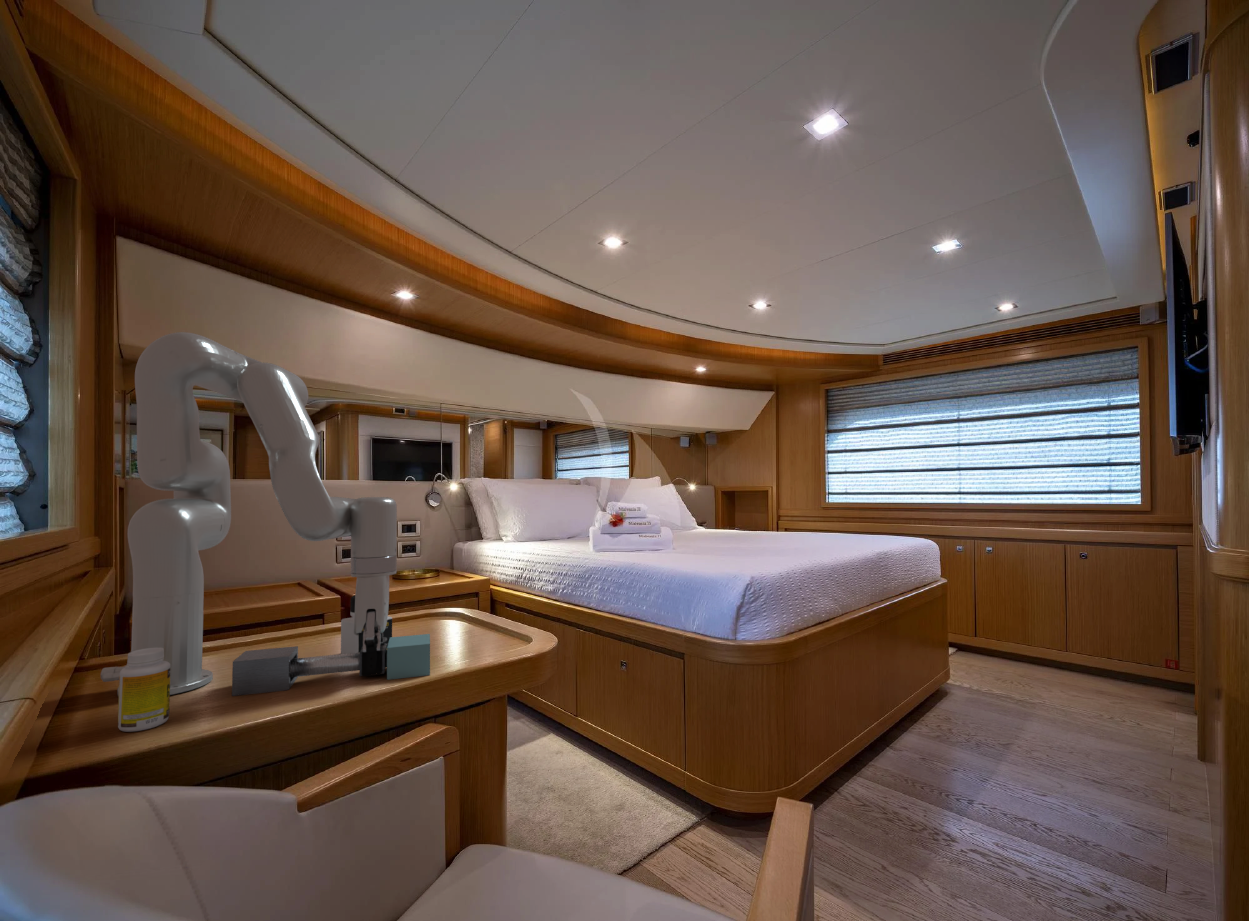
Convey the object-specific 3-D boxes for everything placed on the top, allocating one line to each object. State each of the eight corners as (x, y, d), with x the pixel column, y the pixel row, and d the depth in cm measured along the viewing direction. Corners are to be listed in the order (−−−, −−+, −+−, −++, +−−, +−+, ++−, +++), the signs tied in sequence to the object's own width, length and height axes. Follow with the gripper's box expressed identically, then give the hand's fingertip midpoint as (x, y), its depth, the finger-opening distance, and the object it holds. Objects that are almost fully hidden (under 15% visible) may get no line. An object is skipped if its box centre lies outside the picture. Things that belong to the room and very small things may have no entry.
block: (387, 679, 100) (387, 647, 100) (389, 667, 107) (389, 637, 108) (430, 675, 102) (430, 643, 102) (429, 663, 110) (429, 633, 110)
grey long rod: (266, 686, 96) (266, 661, 96) (272, 678, 100) (273, 654, 100) (408, 671, 103) (409, 648, 103) (409, 664, 107) (409, 642, 107)
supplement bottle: (175, 723, 82) (177, 649, 83) (124, 736, 78) (127, 658, 78) (161, 715, 85) (163, 644, 86) (112, 727, 81) (114, 652, 81)
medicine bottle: (358, 660, 112) (359, 597, 113) (340, 655, 116) (340, 594, 117) (392, 652, 118) (393, 592, 119) (373, 647, 122) (374, 589, 123)
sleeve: (231, 696, 93) (232, 661, 93) (244, 683, 100) (245, 650, 100) (288, 690, 96) (289, 656, 96) (297, 677, 102) (298, 646, 102)
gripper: (356, 562, 111) (355, 660, 110) (344, 573, 95) (343, 688, 94) (398, 560, 113) (398, 656, 112) (394, 570, 97) (393, 682, 96)
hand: (373, 669), depth 103 cm, fingers closed on grey long rod, 4 cm apart
